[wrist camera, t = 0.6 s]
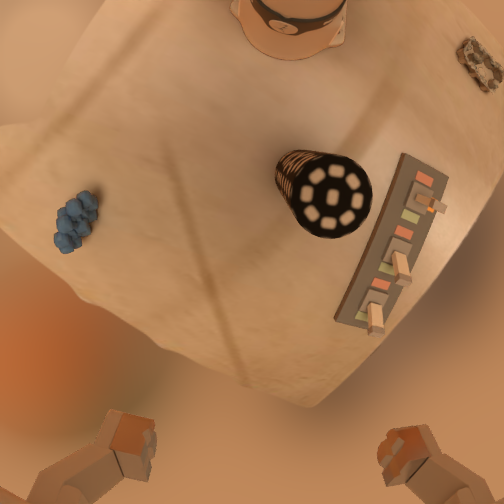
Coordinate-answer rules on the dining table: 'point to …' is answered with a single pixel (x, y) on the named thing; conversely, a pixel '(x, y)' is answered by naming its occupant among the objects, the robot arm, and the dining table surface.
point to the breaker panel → (392, 241)
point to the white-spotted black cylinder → (324, 192)
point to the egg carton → (478, 58)
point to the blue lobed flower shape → (75, 221)
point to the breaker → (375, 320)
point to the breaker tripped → (431, 203)
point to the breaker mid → (401, 269)
